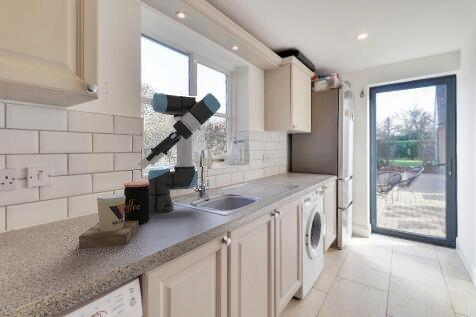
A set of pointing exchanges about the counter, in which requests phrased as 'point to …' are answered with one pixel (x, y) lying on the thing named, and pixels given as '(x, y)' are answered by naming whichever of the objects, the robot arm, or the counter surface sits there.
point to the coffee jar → (137, 202)
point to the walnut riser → (108, 236)
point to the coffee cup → (111, 211)
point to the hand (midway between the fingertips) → (145, 165)
